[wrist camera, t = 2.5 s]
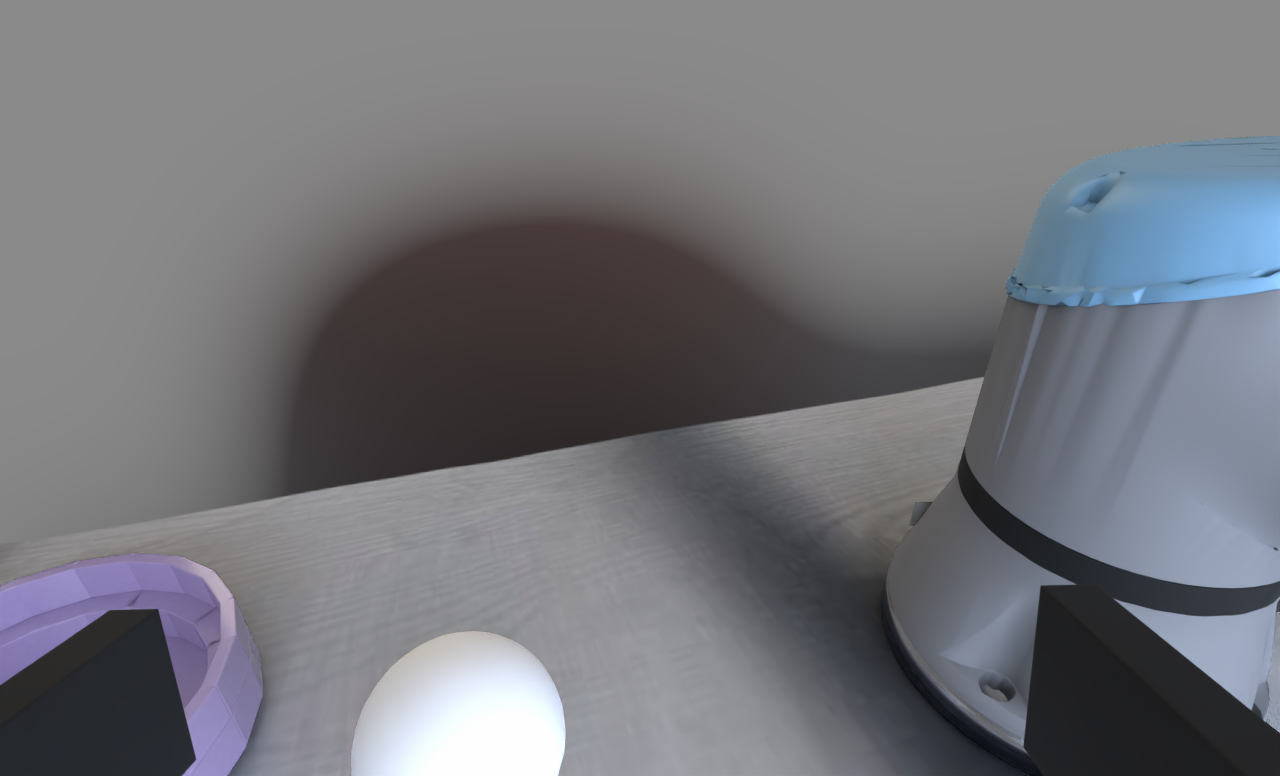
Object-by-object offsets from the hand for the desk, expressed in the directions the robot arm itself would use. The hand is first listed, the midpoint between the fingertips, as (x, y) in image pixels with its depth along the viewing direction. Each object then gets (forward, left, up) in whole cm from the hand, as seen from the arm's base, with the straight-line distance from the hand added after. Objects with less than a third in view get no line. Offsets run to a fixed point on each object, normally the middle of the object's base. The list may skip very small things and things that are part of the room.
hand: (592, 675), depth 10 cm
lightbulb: (+5, -5, -18) cm, 19 cm away
